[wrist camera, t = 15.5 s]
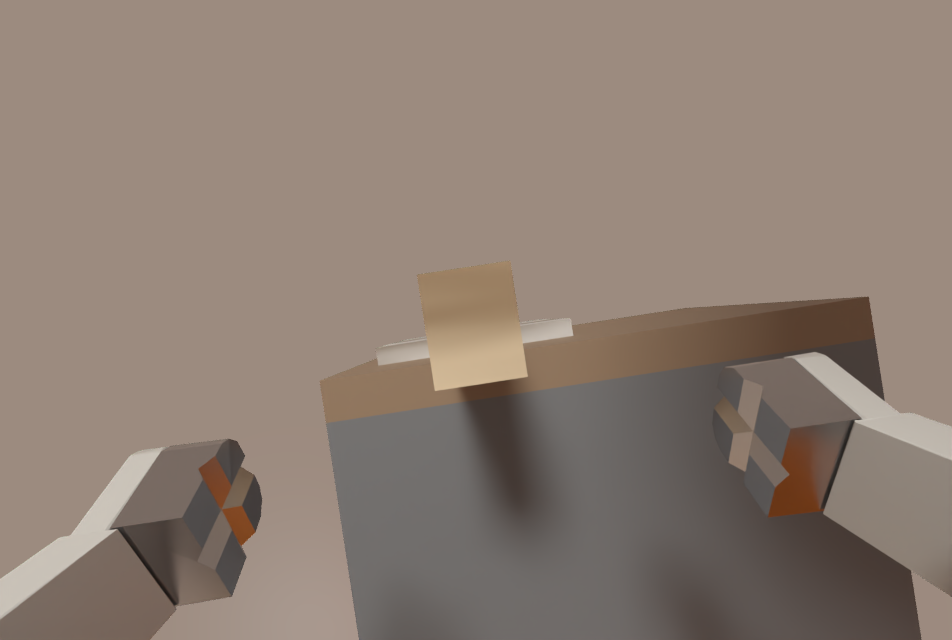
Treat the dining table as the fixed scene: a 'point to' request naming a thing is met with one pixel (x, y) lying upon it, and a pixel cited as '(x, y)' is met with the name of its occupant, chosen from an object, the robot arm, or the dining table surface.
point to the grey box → (599, 493)
